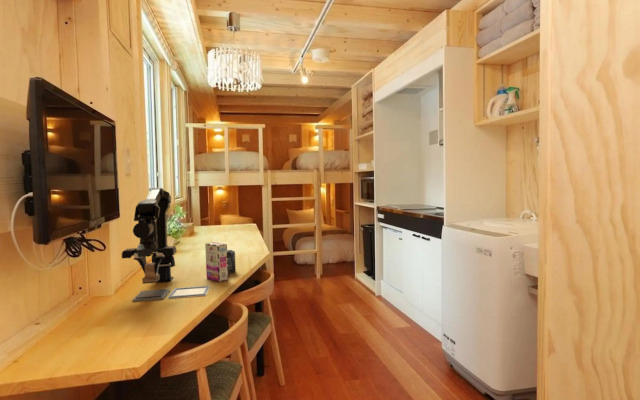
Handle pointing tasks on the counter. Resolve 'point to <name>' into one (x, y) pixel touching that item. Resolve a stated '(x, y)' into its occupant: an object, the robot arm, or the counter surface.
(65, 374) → the counter surface
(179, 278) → the counter surface
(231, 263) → the box
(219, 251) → the candy bar box
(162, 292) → the ink pad
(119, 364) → the counter surface
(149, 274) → the stamp
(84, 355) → the counter surface
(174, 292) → the marked sheet
